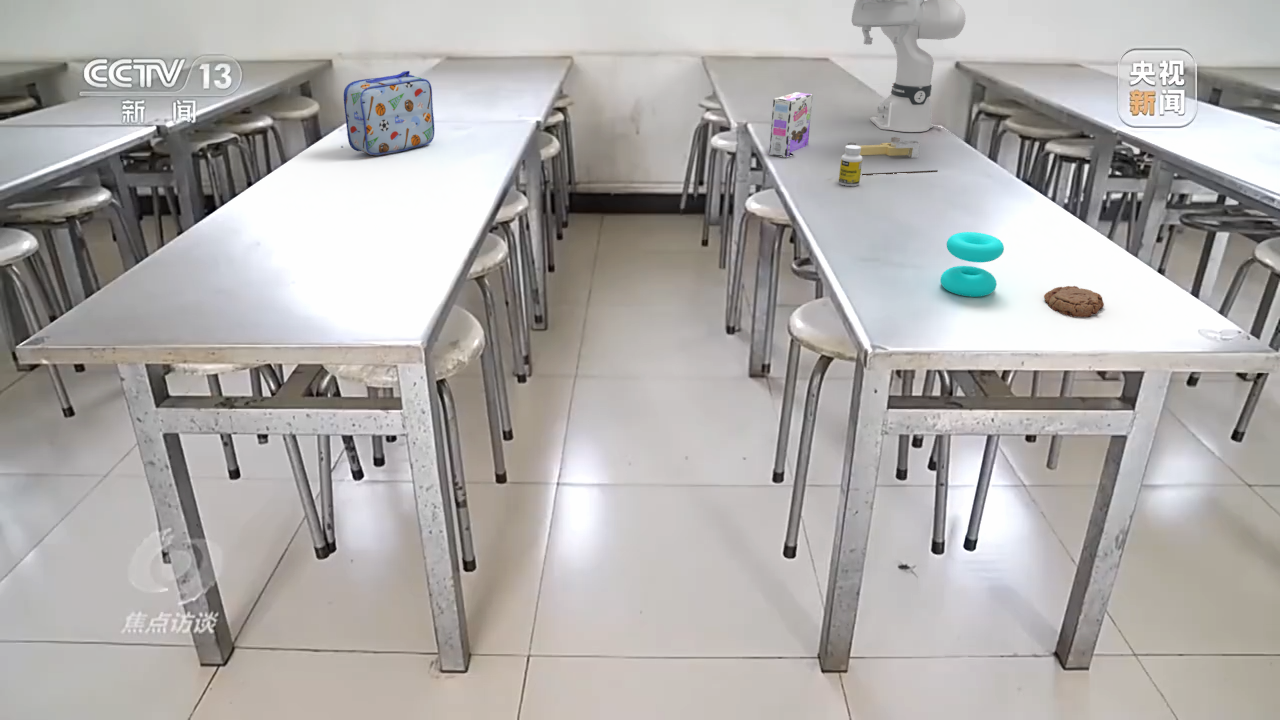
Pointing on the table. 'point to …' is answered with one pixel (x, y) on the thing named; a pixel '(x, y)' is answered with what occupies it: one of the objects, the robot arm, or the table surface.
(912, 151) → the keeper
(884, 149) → the link
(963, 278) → the cyan spool
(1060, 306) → the cookie
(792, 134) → the candy box
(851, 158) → the supplement bottle
